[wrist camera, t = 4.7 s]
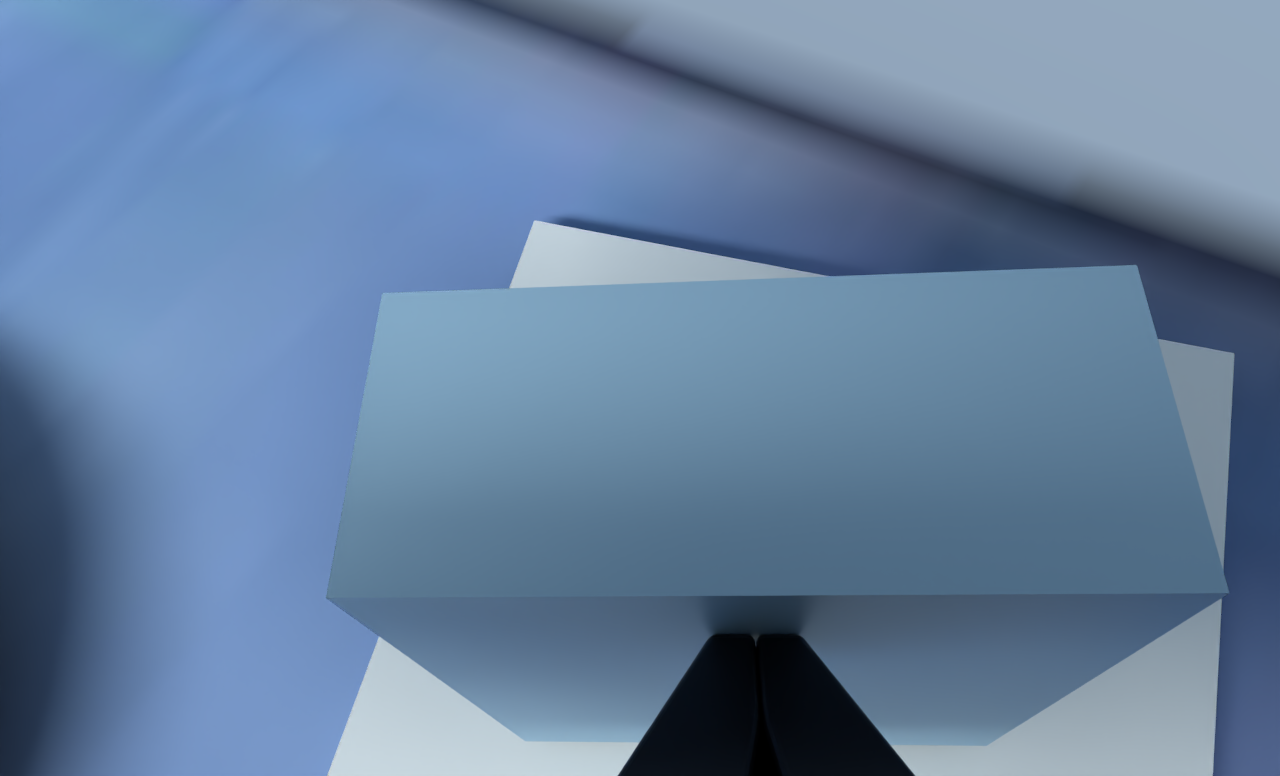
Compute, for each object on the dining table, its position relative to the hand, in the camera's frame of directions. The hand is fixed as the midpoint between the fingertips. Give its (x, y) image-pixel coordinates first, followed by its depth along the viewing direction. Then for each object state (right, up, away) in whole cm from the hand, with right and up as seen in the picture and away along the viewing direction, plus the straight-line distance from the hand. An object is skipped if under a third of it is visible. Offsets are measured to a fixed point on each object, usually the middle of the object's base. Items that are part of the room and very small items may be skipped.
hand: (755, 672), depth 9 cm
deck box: (+1, -1, +6) cm, 7 cm away
